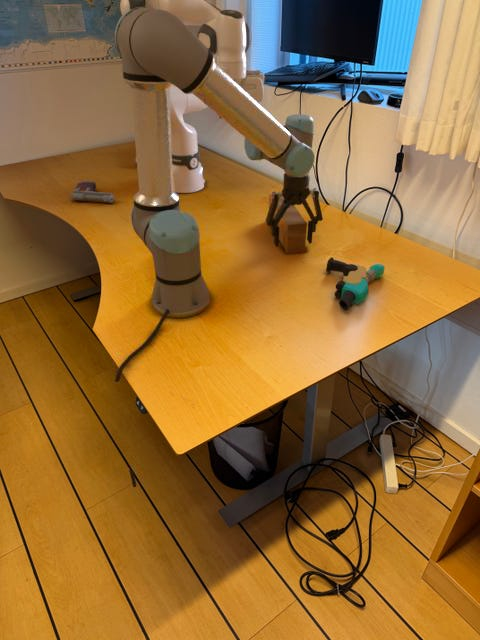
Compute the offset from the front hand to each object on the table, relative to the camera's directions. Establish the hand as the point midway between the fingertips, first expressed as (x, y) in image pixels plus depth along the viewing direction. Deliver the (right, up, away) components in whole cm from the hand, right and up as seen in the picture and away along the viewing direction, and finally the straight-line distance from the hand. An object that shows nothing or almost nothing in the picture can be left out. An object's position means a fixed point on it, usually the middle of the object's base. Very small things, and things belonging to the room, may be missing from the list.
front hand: (292, 243), depth 150 cm
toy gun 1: (-73, +24, +37) cm, 85 cm away
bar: (-2, +4, +8) cm, 9 cm away
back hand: (-19, +43, +9) cm, 48 cm away
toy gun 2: (+12, -16, -20) cm, 28 cm away
